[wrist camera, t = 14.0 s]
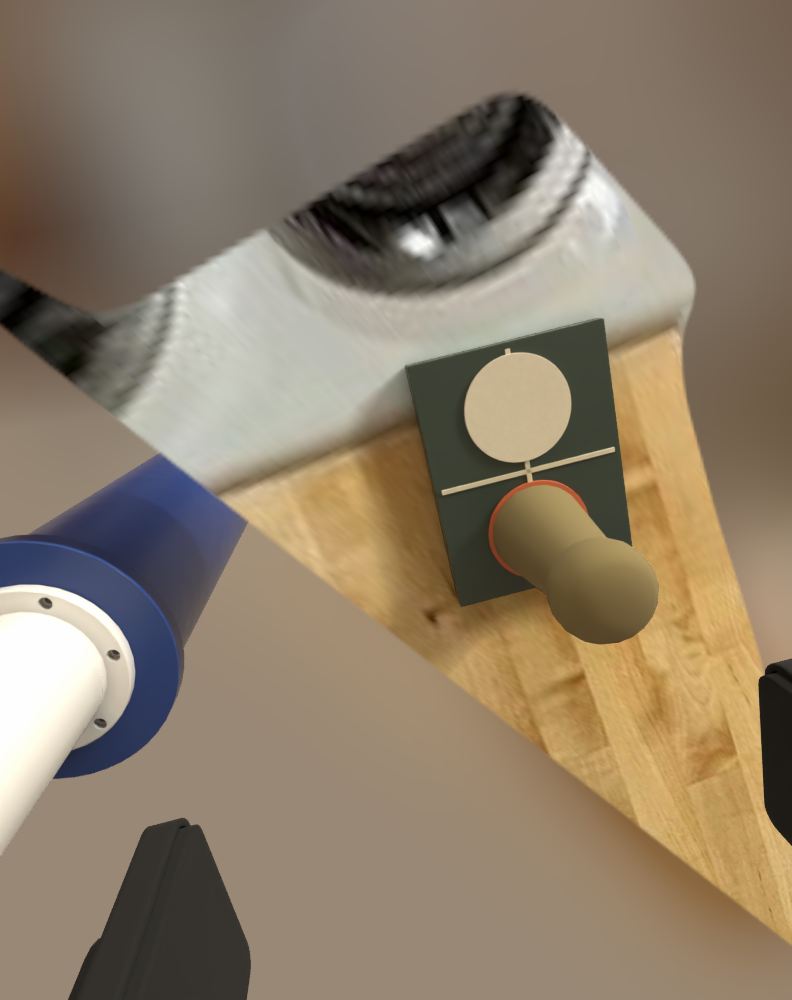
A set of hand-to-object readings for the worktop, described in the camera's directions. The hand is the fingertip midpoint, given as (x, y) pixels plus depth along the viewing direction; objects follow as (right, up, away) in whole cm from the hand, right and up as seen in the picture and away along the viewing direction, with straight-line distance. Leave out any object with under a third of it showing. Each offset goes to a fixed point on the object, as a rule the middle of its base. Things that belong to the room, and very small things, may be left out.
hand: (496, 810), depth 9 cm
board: (+7, +7, +28) cm, 29 cm away
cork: (+8, +3, +28) cm, 29 cm away
